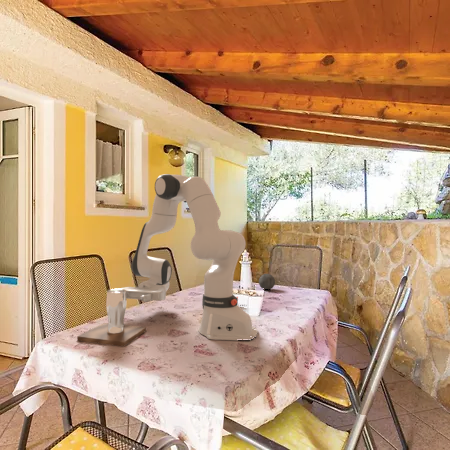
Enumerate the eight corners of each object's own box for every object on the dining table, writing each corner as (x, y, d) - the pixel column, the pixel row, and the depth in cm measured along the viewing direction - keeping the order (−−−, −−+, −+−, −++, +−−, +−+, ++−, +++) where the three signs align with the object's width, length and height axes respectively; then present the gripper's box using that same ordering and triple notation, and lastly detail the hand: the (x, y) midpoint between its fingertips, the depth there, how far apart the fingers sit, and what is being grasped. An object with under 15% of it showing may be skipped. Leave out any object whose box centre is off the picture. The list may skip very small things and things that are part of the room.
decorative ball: (275, 288, 213) (275, 273, 213) (274, 292, 203) (274, 275, 203) (259, 287, 215) (259, 272, 214) (257, 291, 205) (258, 274, 205)
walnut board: (146, 331, 128) (146, 327, 128) (123, 346, 112) (123, 342, 112) (104, 326, 132) (104, 322, 132) (77, 340, 117) (77, 336, 116)
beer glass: (119, 336, 118) (119, 293, 117) (101, 333, 119) (102, 292, 119) (129, 329, 124) (130, 289, 124) (112, 327, 126) (113, 288, 126)
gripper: (126, 282, 150) (108, 288, 136) (169, 285, 145) (154, 291, 131) (126, 296, 150) (108, 303, 136) (168, 299, 145) (154, 307, 131)
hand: (131, 297), depth 134 cm, fingers open, 8 cm apart
